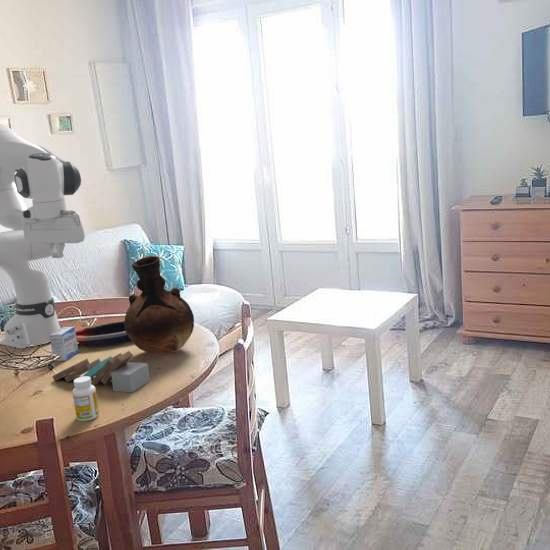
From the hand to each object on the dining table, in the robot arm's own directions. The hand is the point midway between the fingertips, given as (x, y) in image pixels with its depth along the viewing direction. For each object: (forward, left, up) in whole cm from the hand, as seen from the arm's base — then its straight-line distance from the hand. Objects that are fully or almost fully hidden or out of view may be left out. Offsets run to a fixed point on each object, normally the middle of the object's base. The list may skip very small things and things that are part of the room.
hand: (57, 257), depth 185 cm
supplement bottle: (+31, -30, -33) cm, 54 cm away
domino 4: (+18, -11, -32) cm, 39 cm away
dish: (-4, +21, -33) cm, 40 cm away
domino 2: (+9, -11, -32) cm, 35 cm away
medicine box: (-7, +4, -33) cm, 34 cm away
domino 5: (+22, -11, -32) cm, 40 cm away
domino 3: (+14, -11, -32) cm, 37 cm away
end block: (+29, -11, -33) cm, 45 cm away
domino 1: (+4, -11, -32) cm, 34 cm away
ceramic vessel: (+23, +14, -33) cm, 43 cm away
